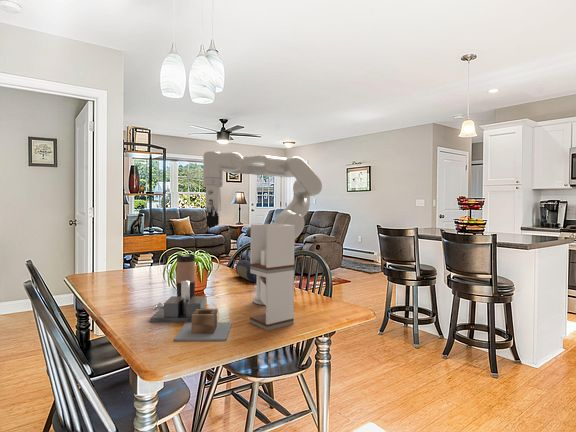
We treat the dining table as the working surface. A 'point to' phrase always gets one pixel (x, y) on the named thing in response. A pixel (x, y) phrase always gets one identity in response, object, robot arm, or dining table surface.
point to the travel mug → (186, 272)
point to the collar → (204, 321)
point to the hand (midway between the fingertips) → (212, 225)
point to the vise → (179, 306)
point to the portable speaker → (245, 271)
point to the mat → (218, 335)
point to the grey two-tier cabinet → (274, 273)
